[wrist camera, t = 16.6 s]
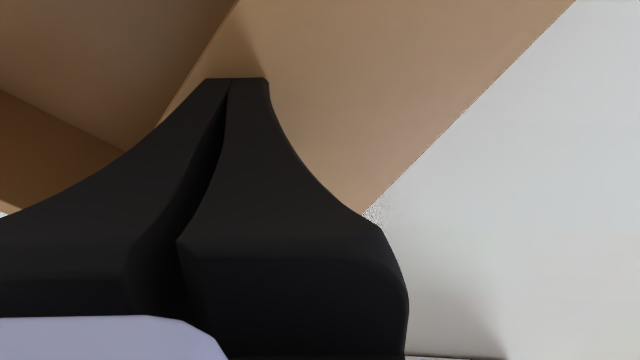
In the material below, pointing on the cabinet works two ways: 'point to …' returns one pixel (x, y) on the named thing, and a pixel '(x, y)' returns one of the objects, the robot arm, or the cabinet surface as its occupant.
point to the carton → (88, 83)
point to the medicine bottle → (428, 358)
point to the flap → (369, 75)
